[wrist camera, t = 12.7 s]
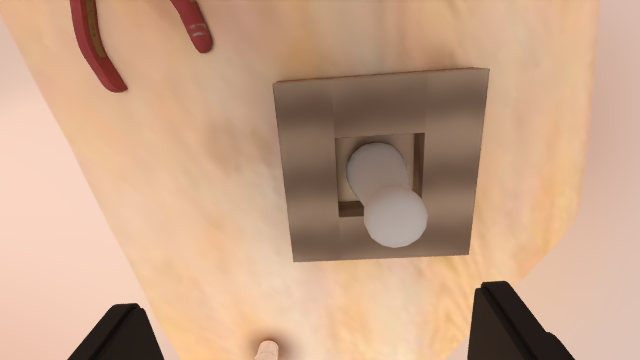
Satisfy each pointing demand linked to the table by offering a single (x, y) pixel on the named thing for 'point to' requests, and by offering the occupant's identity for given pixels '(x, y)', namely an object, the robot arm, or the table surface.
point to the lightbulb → (267, 351)
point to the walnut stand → (371, 120)
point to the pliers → (95, 52)
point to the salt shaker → (386, 195)
